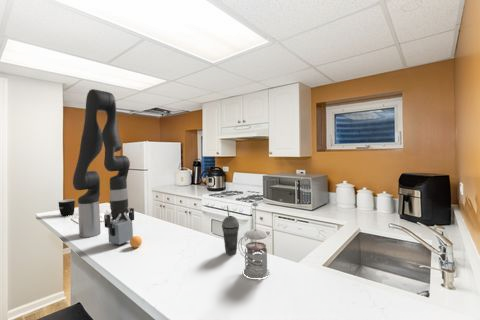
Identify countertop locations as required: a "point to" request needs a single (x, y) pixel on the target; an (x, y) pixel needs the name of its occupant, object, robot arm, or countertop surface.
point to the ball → (135, 241)
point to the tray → (100, 216)
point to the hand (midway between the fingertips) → (120, 232)
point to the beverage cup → (230, 234)
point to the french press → (255, 267)
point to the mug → (67, 207)
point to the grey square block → (122, 232)
